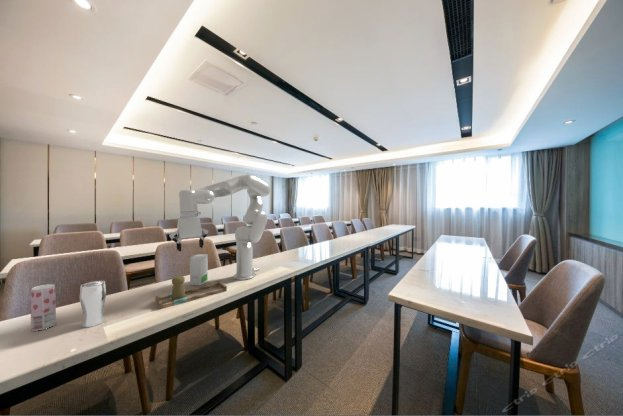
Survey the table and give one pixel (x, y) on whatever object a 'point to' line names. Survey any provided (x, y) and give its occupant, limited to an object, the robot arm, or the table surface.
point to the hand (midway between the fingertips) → (190, 249)
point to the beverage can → (43, 307)
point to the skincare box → (198, 269)
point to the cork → (178, 288)
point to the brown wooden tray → (183, 300)
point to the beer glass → (92, 302)
